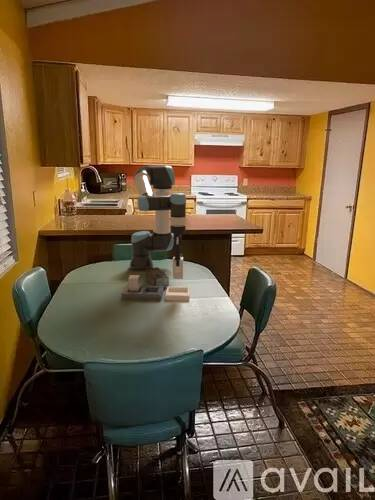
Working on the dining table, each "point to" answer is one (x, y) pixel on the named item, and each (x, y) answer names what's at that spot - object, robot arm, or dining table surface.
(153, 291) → the rack
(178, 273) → the tan rectangular block
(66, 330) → the dining table surface
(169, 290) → the tray
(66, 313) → the dining table surface
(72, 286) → the dining table surface
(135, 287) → the beige rectangular block
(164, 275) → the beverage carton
